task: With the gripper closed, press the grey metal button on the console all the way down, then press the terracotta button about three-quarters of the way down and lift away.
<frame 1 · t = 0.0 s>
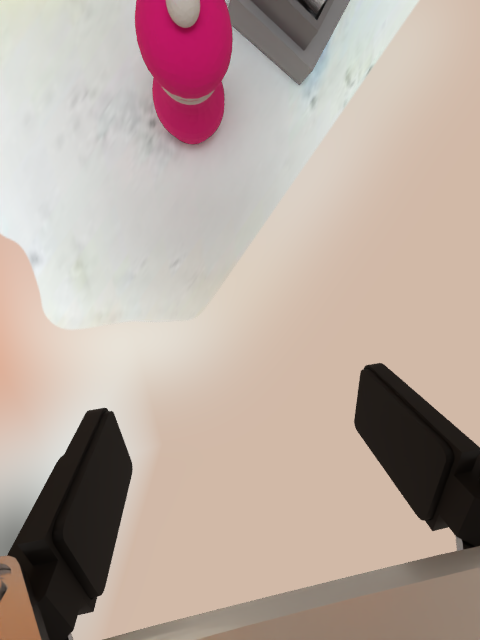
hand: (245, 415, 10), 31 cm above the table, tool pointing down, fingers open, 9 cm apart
pepper mill: (190, 113, 31), on the table
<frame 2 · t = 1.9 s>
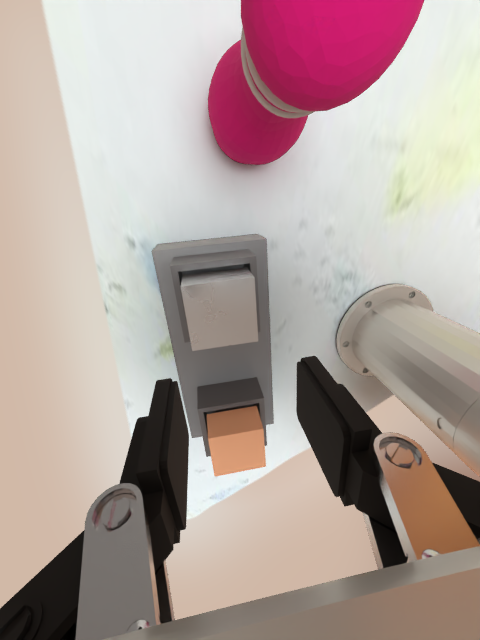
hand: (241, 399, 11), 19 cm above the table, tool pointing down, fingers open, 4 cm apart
pepper mill: (247, 124, 24), on the table
grey button: (220, 308, 20), point 9 cm above the table, slide at 0.0 cm
terracotta button: (236, 440, 26), point 9 cm above the table, slide at 0.0 cm
console: (220, 335, 31), on the table
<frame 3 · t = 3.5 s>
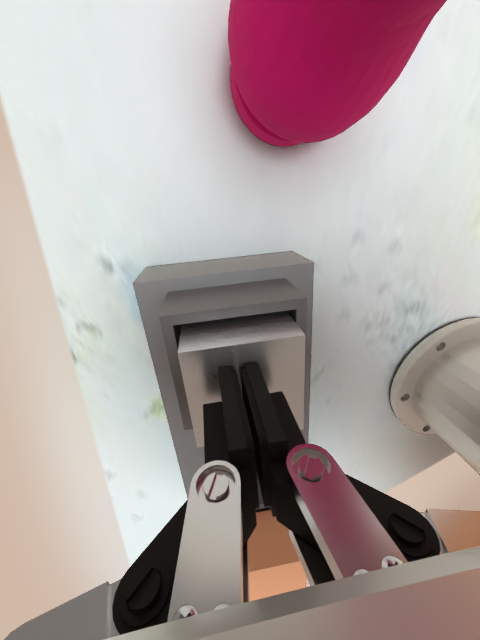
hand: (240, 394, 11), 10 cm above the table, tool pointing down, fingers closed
pepper mill: (284, 82, 15), on the table
grey button: (242, 374, 13), point 8 cm above the table, slide at 1.1 cm, touching gripper
terracotta button: (261, 560, 17), point 9 cm above the table, slide at 0.0 cm
console: (235, 387, 23), on the table
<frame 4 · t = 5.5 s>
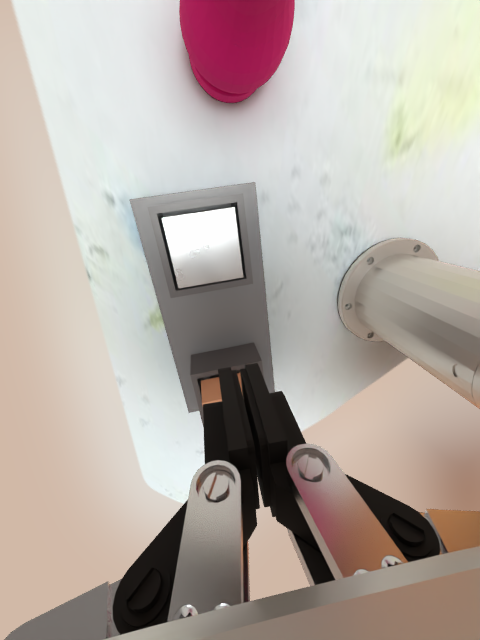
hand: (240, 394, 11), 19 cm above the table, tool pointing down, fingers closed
pepper mill: (227, 56, 21), on the table
grey button: (204, 246, 21), point 6 cm above the table, slide at 2.5 cm
terracotta button: (233, 407, 24), point 9 cm above the table, slide at 0.0 cm
console: (213, 302, 29), on the table
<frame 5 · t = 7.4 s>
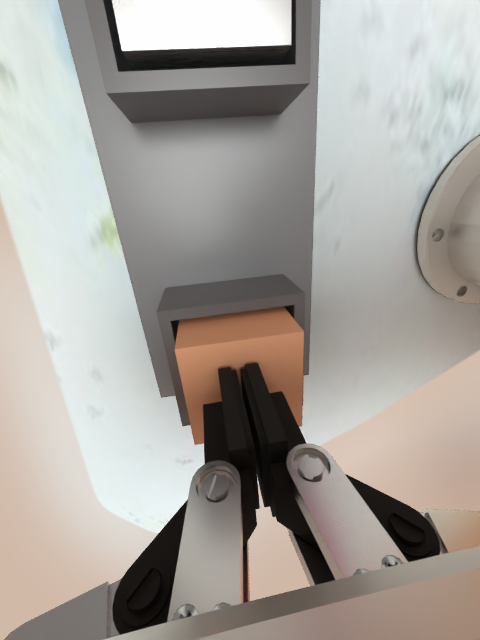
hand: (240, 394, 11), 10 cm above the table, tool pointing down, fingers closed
terracotta button: (240, 371, 13), point 8 cm above the table, slide at 1.0 cm, touching gripper
console: (213, 207, 17), on the table
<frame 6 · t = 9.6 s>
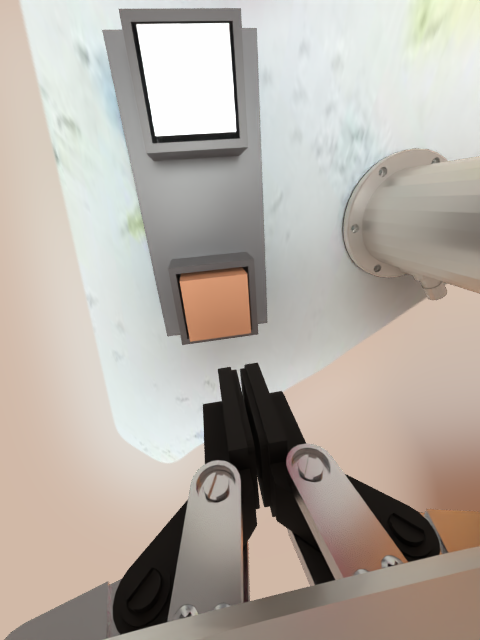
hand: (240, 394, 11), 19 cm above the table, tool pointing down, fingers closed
grey button: (190, 92, 17), point 6 cm above the table, slide at 2.5 cm
terracotta button: (216, 302, 22), point 7 cm above the table, slide at 1.9 cm
console: (202, 209, 26), on the table
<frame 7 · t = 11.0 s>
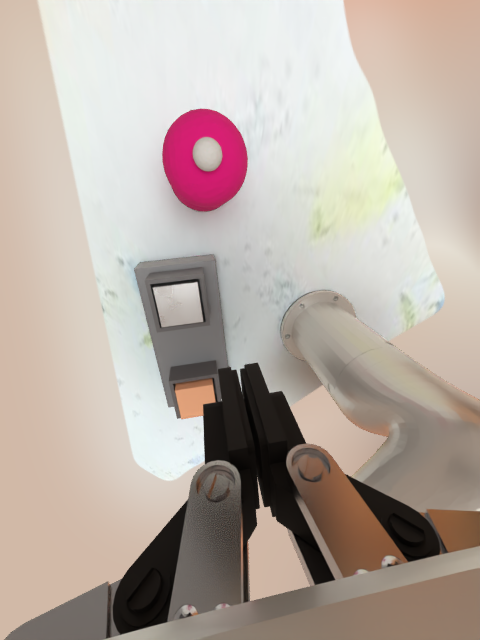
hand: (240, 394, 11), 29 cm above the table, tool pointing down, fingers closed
pepper mill: (201, 179, 34), on the table
grey button: (179, 301, 33), point 6 cm above the table, slide at 2.5 cm
terracotta button: (196, 395, 38), point 7 cm above the table, slide at 1.9 cm
console: (189, 329, 41), on the table
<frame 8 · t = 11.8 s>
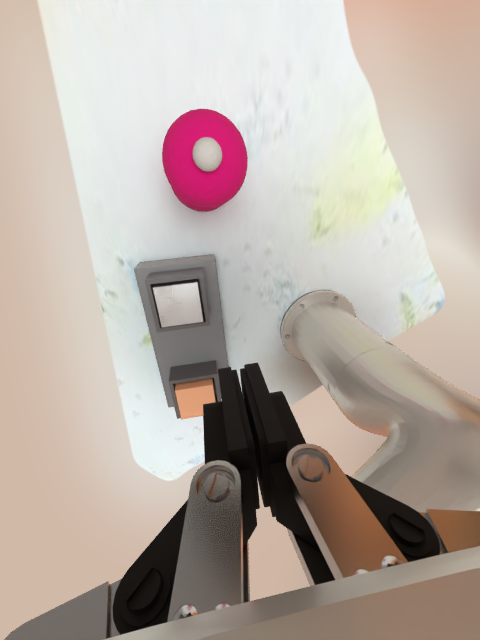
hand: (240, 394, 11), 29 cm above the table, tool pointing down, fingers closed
pepper mill: (201, 179, 34), on the table
grey button: (179, 301, 33), point 6 cm above the table, slide at 2.5 cm
terracotta button: (196, 395, 38), point 7 cm above the table, slide at 1.9 cm
console: (189, 329, 41), on the table
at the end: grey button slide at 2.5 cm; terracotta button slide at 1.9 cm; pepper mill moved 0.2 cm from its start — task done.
